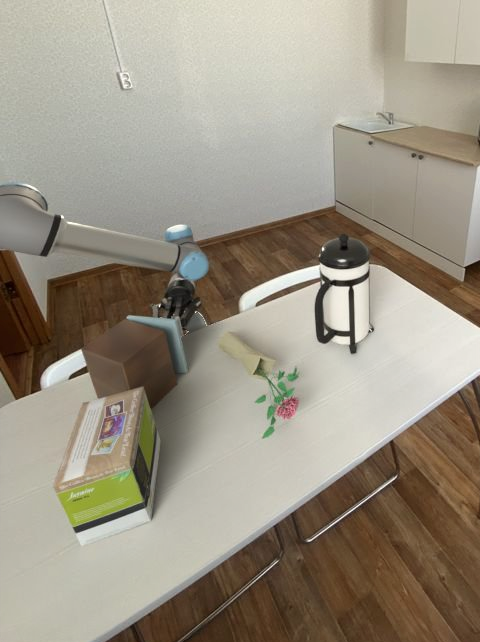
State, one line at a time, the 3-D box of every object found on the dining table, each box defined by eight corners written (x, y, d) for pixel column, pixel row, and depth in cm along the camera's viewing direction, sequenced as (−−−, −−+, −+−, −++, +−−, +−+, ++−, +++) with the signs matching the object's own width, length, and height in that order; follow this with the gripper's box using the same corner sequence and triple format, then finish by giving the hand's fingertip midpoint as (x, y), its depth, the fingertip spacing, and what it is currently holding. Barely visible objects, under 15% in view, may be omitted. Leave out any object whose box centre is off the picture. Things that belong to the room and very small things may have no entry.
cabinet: (139, 370, 92) (124, 318, 87) (177, 384, 88) (164, 331, 82) (99, 403, 83) (80, 348, 78) (139, 420, 79) (122, 363, 74)
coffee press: (312, 322, 107) (305, 225, 97) (368, 314, 110) (367, 219, 100) (318, 368, 92) (310, 257, 81) (383, 357, 94) (383, 249, 84)
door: (147, 360, 94) (134, 310, 89) (192, 364, 93) (181, 314, 88) (140, 368, 92) (126, 317, 87) (186, 373, 90) (174, 321, 85)
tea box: (102, 459, 71) (81, 400, 66) (162, 441, 75) (146, 383, 69) (79, 550, 58) (50, 485, 53) (152, 523, 61) (132, 459, 56)
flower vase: (247, 369, 101) (327, 433, 75) (200, 381, 93) (271, 458, 67) (250, 324, 101) (331, 373, 75) (204, 333, 93) (275, 390, 67)
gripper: (207, 297, 114) (195, 352, 93) (159, 304, 111) (135, 363, 90) (203, 275, 112) (190, 327, 90) (153, 282, 109) (128, 337, 87)
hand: (163, 345), depth 90 cm, fingers closed
